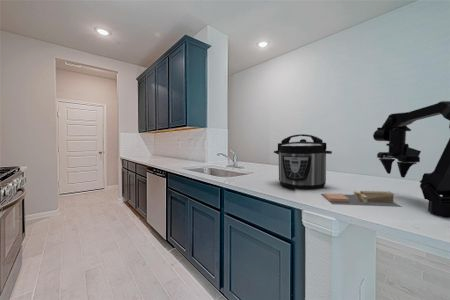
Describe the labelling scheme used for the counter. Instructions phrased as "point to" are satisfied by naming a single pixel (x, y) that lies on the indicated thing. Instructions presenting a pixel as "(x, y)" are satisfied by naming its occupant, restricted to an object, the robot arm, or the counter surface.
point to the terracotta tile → (336, 197)
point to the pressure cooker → (302, 163)
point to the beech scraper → (373, 196)
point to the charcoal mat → (356, 202)
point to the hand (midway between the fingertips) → (395, 175)
